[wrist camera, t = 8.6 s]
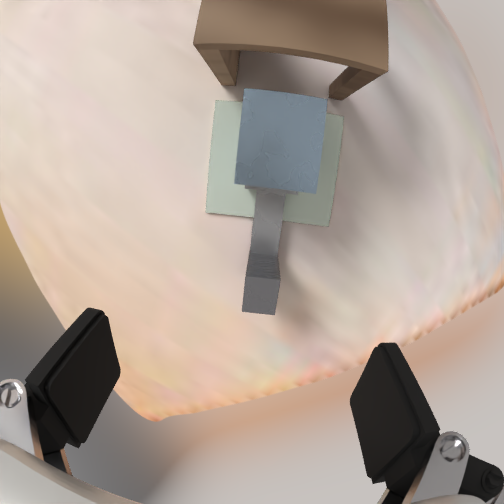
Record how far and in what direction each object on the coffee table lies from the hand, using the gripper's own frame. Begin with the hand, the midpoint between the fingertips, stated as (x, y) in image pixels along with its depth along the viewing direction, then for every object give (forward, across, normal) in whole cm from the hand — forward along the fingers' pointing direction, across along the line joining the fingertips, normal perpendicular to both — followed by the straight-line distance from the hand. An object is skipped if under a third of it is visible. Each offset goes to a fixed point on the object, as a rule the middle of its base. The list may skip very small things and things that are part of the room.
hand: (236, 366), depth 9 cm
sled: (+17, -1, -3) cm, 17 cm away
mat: (+17, -1, -6) cm, 18 cm away
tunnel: (+17, -1, -16) cm, 24 cm away
